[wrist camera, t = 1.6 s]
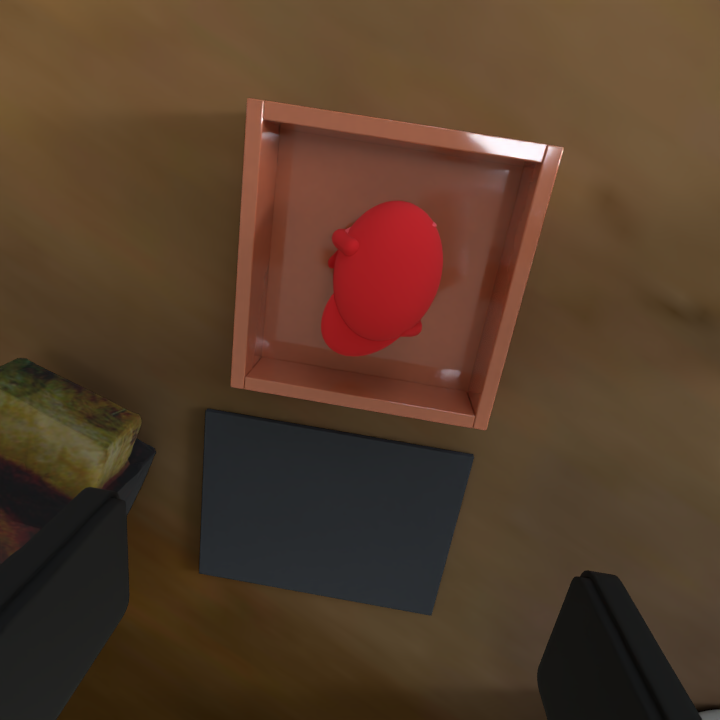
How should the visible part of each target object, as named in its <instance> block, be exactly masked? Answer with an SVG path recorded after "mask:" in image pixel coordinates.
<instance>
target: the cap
mask: <svg viewBox="0 0 720 720" xmlns="http://www.w3.org/2000/svg"><path fill="white" fill-rule="evenodd" d="M436 226H437V225H436V223H435V222H433V221H432V219H431V218H430V217H429V216H428V214H427V213H426V212H425V211H423V210H422V209H421V208H419V207H418V206H416V205H414V204H412V203H409V202H405V201H389V202H384V203H381V204H379V205H376V206H375V207H373V208H371V209H369V210H368V211H366V212H365V213H364V214H363V215H362V216H360V217H359V218H358V219H357V220H356V221H355V223H354V224H353V225H352V226H351V227H349V228H347V229H338V230H336V231H335V232H334V233H333V235H332V242H333V244H334V246H335V247H336V248H337V249H338V250H337V251H336V252H335V253H334V254H333V255H332V256H331V257H330V258H329V260H328V266H329V267H330V268H334V272H333V291H334V293H333V294H332V296H331V297H330V299H329V300H328V302H327V304H326V306H325V309H324V311H323V315H322V319H321V332H322V336H323V339H324V341H325V343H326V344H327V345H328V347H329V348H330V349H332V350H333V351H335V352H336V353H338V354H341V355H345V356H364V355H368V354H372V353H375V352H377V351H379V350H382V349H383V348H385V347H387V346H389V345H390V344H392V343H393V342H394V341H396V340H397V339H398V338H399V337H413V336H416V335H418V334H419V333H420V332H421V330H422V323H421V318H422V317H423V316H424V315H425V313H426V312H427V310H428V309H429V307H430V306H431V304H432V302H433V300H434V298H435V296H436V293H437V290H438V288H439V284H440V280H441V276H442V269H443V250H442V243H441V239H440V236H439V233H438V230H437V228H436Z"/></svg>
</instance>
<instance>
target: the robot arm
mask: <svg viewBox="0 0 720 720" xmlns="http://www.w3.org/2000/svg"><path fill="white" fill-rule="evenodd" d="M128 602H129V573H128V544H127V514H126V502H125V501H124V500H120V497H119V494H118V492H116V491H111V490H105V489H99V488H93V487H87V488H85V489H84V490H82V491H81V492H80V493H79V494H78V495H77V496H76V497H75V498H74V499H73V500H71V501H70V502H69V503H68V504H67V505H66V506H65V507H64V508H63V509H62V510H61V511H60V512H59V513H58V514H57V515H55V516H54V517H53V518H52V519H51V520H50V521H49V522H48V523H47V524H46V525H45V526H44V527H43V528H42V529H41V530H40V531H38V532H37V533H36V534H35V535H34V536H33V537H32V538H31V539H30V540H29V541H28V542H27V543H26V544H25V545H24V546H22V547H21V548H20V549H19V550H17V551H16V552H14V553H13V554H12V555H10V556H9V557H8V558H7V559H6V560H5V561H4V562H3V563H2V564H1V565H0V720H56V719H57V717H58V716H59V714H60V713H61V711H62V710H63V708H64V707H65V705H66V703H67V702H68V700H69V699H70V697H71V696H72V694H73V693H74V691H75V690H76V688H77V687H78V685H79V683H80V682H81V680H82V679H83V677H84V676H85V674H86V673H87V671H88V670H89V668H90V666H91V665H92V663H93V662H94V660H95V659H96V657H97V656H98V654H99V653H100V651H101V649H102V648H103V646H104V645H105V643H106V642H107V640H108V639H109V637H110V636H111V634H112V633H113V631H114V629H115V628H116V626H117V625H118V623H119V622H120V620H121V619H122V617H123V615H124V613H125V611H126V609H127V606H128ZM537 681H538V688H539V692H540V695H541V699H542V702H543V706H544V709H545V712H546V716H547V719H548V720H702V718H701V716H700V715H699V713H698V711H697V710H696V708H695V706H694V705H693V703H692V701H691V699H690V698H689V696H688V694H687V693H686V691H685V689H684V687H683V686H682V684H681V682H680V681H679V679H678V677H677V676H676V674H675V672H674V670H673V669H672V667H671V666H670V664H669V662H668V660H667V659H666V657H665V655H664V654H663V652H662V650H661V649H660V647H659V645H658V643H657V642H656V640H655V638H654V637H653V635H652V633H651V631H650V630H649V628H648V626H647V625H646V623H645V621H644V620H643V618H642V616H641V614H640V613H639V611H638V609H637V608H636V606H635V604H634V602H633V601H632V599H631V597H630V596H629V594H628V592H627V590H626V589H625V587H624V585H623V584H622V582H621V581H620V579H619V578H618V577H617V576H615V575H611V574H605V573H599V572H593V571H584V572H583V573H582V574H581V576H580V577H574V578H573V580H572V582H571V584H570V587H569V590H568V592H567V595H566V597H565V600H564V603H563V605H562V608H561V610H560V613H559V615H558V618H557V621H556V623H555V626H554V628H553V631H552V634H551V636H550V639H549V641H548V644H547V646H546V649H545V652H544V654H543V657H542V659H541V662H540V665H539V668H538V673H537Z"/></svg>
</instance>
